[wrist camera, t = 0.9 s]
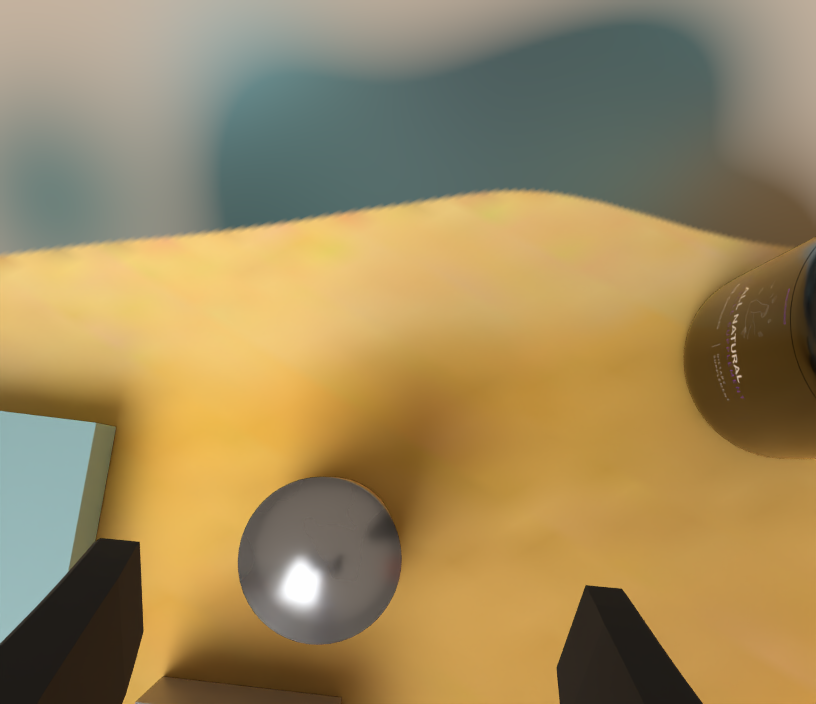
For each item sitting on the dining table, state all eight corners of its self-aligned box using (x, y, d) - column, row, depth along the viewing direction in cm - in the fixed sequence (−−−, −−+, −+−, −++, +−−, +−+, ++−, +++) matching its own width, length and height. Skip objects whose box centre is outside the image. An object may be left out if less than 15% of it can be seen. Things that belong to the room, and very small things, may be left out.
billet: (387, 614, 27) (391, 653, 21) (259, 599, 27) (226, 634, 21) (402, 485, 27) (410, 487, 22) (278, 469, 27) (251, 467, 21)
